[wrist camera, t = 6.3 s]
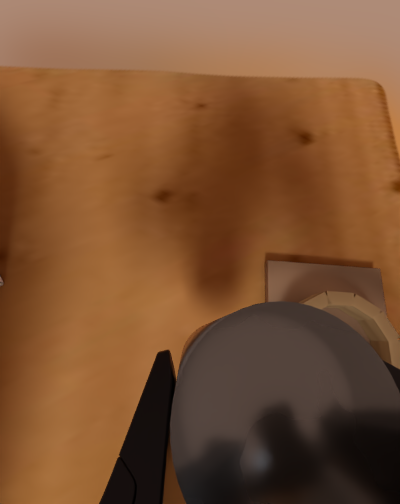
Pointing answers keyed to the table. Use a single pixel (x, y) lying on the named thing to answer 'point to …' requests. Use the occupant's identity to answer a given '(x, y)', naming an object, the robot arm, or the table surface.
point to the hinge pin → (284, 412)
